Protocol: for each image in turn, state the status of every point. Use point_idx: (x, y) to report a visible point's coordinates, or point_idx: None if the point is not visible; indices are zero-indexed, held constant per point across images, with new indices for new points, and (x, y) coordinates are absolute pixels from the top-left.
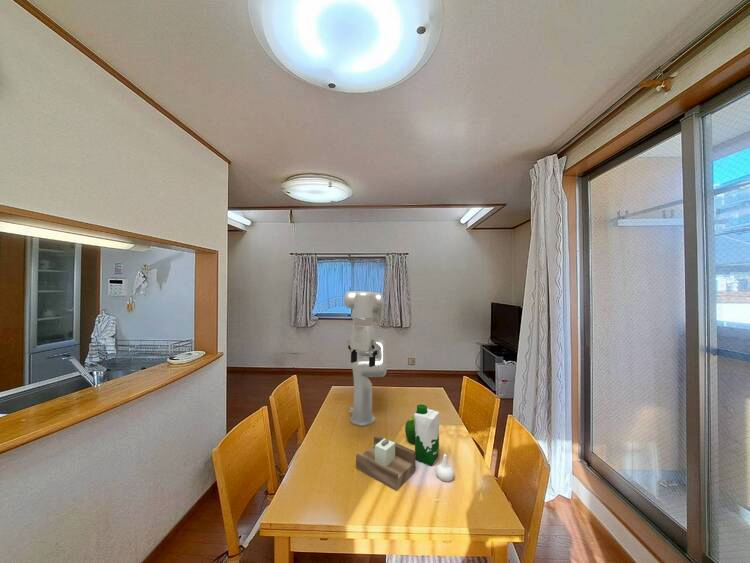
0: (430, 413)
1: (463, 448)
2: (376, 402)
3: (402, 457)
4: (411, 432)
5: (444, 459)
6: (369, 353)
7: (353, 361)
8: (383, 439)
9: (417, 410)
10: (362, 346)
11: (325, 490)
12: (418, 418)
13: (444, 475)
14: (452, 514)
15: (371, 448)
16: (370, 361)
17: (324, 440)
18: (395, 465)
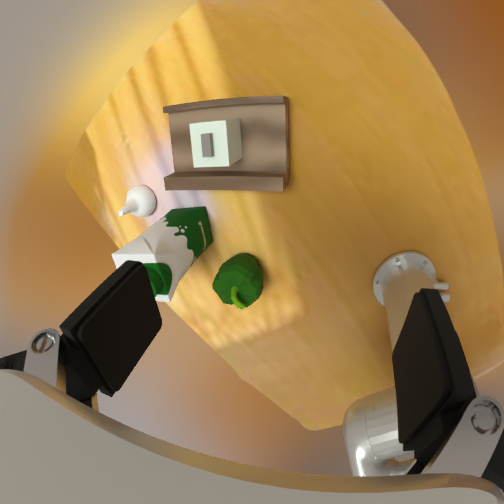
0: None
1: None
2: None
3: (198, 171)
4: (231, 263)
5: (123, 207)
6: (49, 370)
7: (411, 314)
8: (227, 159)
9: (152, 272)
10: (11, 474)
11: (287, 12)
12: (145, 248)
13: (131, 189)
14: (102, 134)
15: (283, 156)
16: (96, 296)
17: (435, 146)
18: None
